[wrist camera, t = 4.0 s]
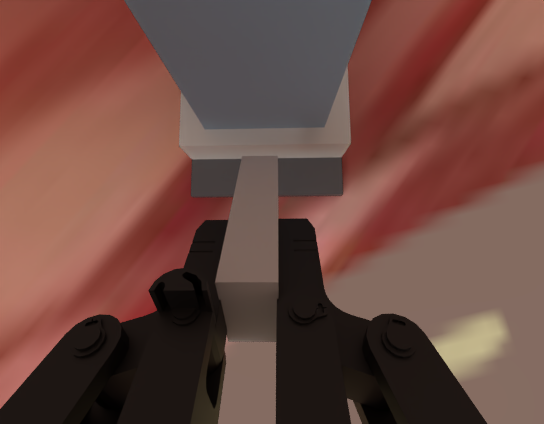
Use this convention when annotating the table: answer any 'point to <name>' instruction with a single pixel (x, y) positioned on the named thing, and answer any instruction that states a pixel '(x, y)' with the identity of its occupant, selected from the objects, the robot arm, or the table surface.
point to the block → (254, 56)
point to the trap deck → (269, 152)
